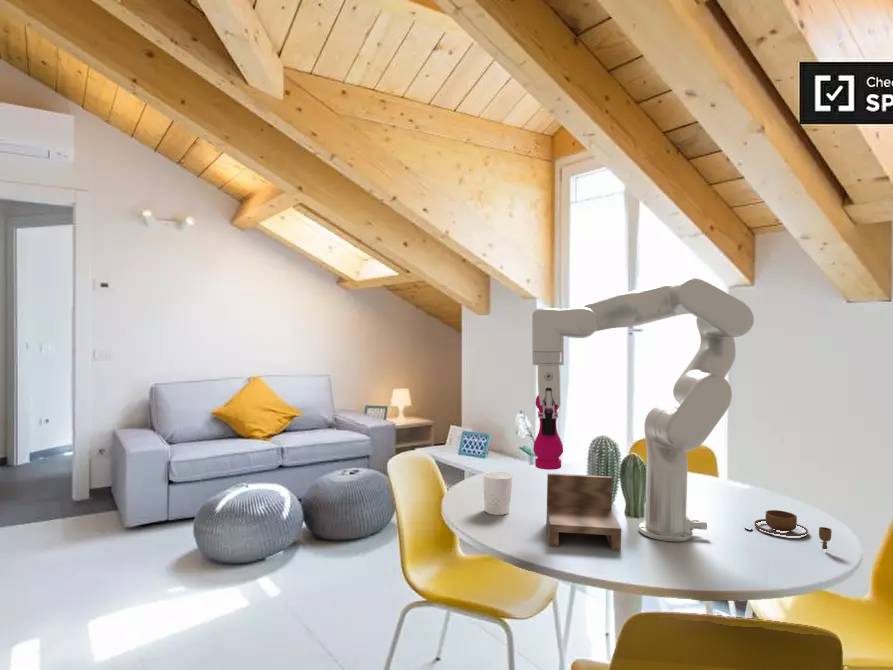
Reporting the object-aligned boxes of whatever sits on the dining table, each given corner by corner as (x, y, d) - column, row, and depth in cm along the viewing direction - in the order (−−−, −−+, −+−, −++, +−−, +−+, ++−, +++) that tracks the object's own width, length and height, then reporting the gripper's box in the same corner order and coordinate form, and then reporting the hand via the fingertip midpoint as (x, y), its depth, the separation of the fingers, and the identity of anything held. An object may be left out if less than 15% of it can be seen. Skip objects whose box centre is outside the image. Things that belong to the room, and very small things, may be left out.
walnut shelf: (610, 527, 151) (611, 476, 150) (620, 550, 135) (622, 493, 135) (546, 523, 152) (547, 473, 152) (549, 545, 137) (550, 489, 137)
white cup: (510, 517, 157) (510, 479, 157) (480, 514, 159) (481, 477, 159) (512, 508, 165) (513, 472, 165) (484, 506, 167) (485, 470, 167)
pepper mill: (564, 464, 147) (564, 384, 147) (561, 471, 141) (561, 386, 140) (535, 462, 150) (535, 383, 149) (531, 469, 143) (530, 386, 142)
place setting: (816, 530, 153) (816, 508, 153) (836, 557, 134) (836, 531, 134) (740, 521, 159) (741, 499, 159) (749, 546, 141) (750, 521, 141)
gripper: (565, 360, 136) (566, 440, 136) (561, 357, 153) (562, 427, 153) (532, 360, 137) (532, 439, 137) (532, 357, 154) (532, 427, 154)
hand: (548, 432), depth 145 cm, fingers closed on pepper mill, 5 cm apart
